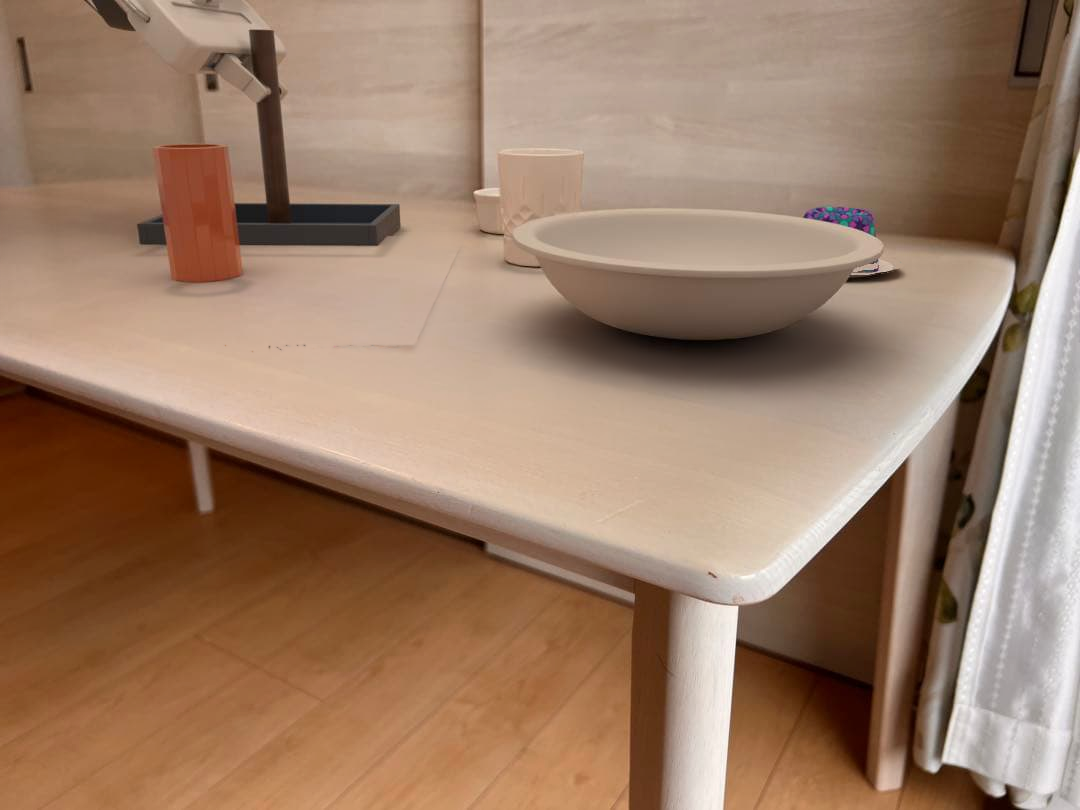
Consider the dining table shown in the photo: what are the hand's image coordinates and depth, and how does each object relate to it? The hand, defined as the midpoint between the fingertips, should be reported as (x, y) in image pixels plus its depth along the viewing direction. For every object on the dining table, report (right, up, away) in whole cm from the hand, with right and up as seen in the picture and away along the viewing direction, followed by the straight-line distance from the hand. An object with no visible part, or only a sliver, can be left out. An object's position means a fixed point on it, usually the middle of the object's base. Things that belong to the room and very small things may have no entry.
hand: (273, 97), depth 88 cm
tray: (-1, -13, +5) cm, 14 cm away
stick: (-1, -13, +5) cm, 14 cm away
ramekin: (+24, -11, +11) cm, 29 cm away
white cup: (+27, -18, -6) cm, 33 cm away
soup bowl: (+37, -26, -28) cm, 54 cm away
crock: (-1, -21, -15) cm, 26 cm away
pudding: (+54, -19, -9) cm, 58 cm away
